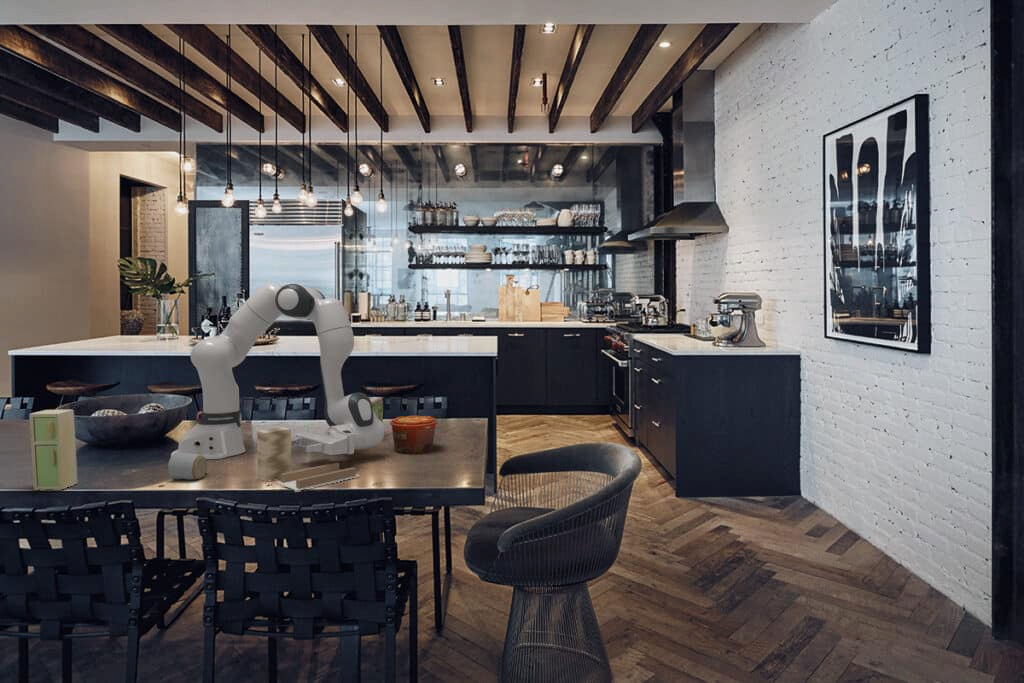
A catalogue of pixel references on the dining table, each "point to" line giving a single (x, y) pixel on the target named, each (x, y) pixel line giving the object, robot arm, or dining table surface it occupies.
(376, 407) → the tea box
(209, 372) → the robot arm
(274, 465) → the wooden block
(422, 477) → the dining table surface
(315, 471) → the track
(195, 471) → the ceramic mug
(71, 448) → the toy refrigerator
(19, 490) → the dining table surface
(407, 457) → the dining table surface
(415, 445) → the food container
